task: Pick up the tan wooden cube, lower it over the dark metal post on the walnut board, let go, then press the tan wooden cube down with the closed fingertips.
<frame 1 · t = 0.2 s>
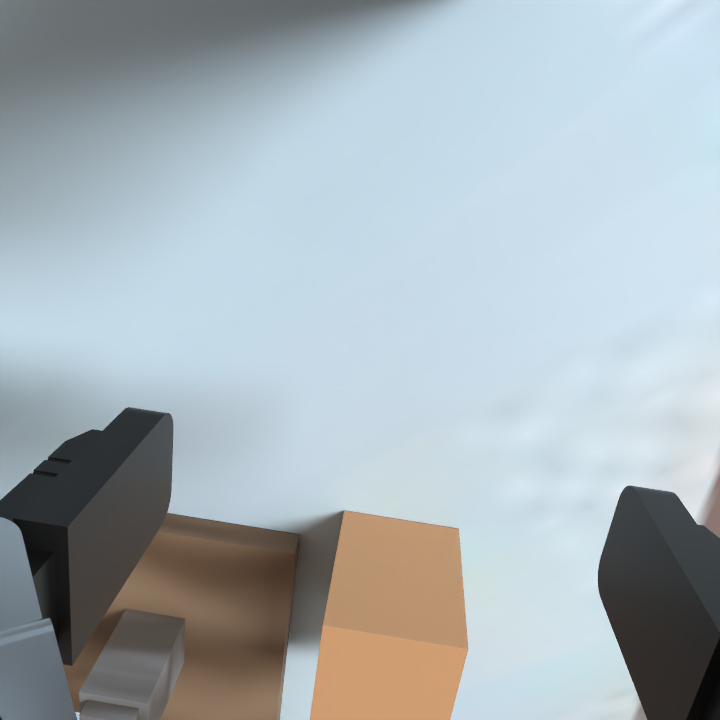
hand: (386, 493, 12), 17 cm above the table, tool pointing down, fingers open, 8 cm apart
tan wooden cube: (392, 565, 34), on the table
post board: (165, 615, 37), on the table
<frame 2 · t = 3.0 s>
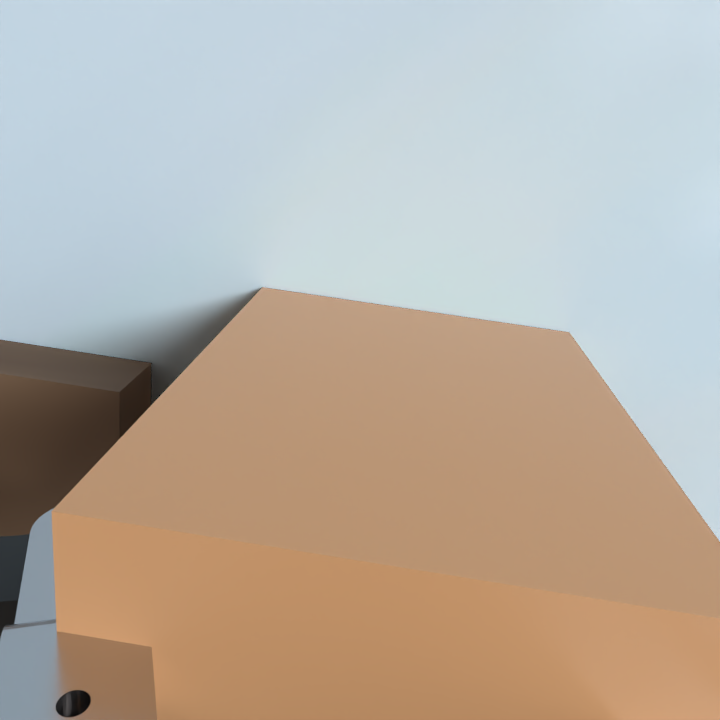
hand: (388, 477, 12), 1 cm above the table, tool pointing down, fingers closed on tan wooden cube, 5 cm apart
tan wooden cube: (392, 446, 13), on the table, touching gripper
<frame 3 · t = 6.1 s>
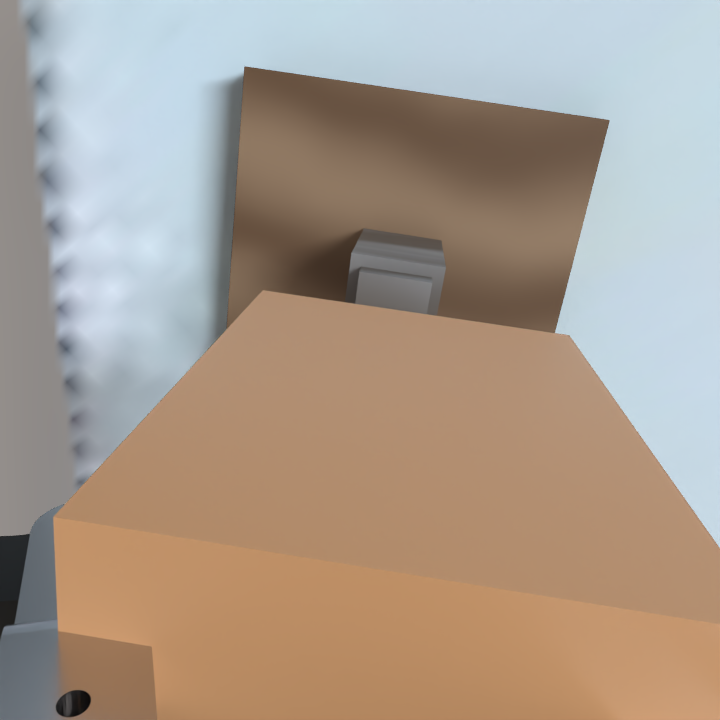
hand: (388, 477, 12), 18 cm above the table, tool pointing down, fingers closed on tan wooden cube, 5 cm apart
tan wooden cube: (392, 448, 13), point 17 cm above the table, touching gripper
post board: (397, 264, 29), on the table
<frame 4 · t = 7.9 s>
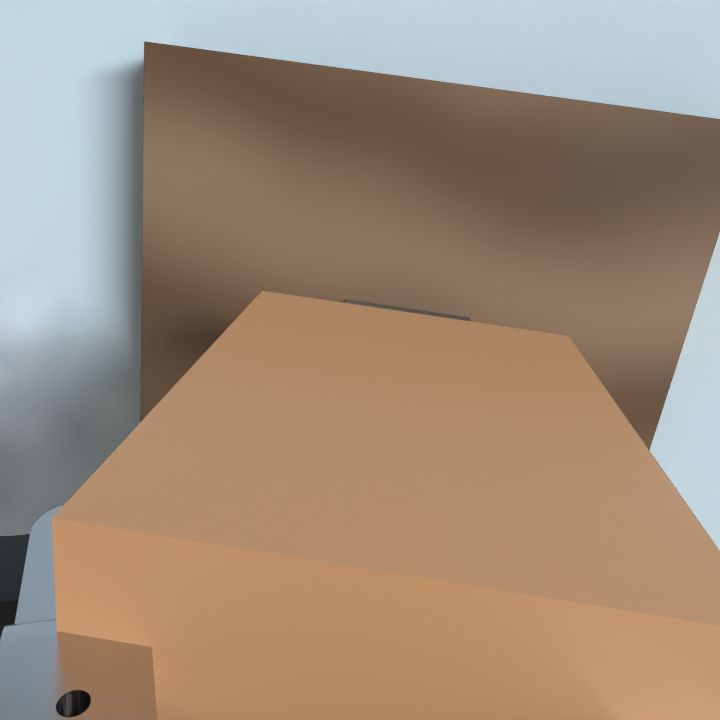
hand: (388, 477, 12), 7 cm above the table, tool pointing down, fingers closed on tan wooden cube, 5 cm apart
tan wooden cube: (391, 449, 13), point 6 cm above the table, touching gripper
post board: (400, 347, 19), on the table
when the fingers open (4 cm above the table, at t = 9.1 s): tan wooden cube drops 1 cm, resting on post board.
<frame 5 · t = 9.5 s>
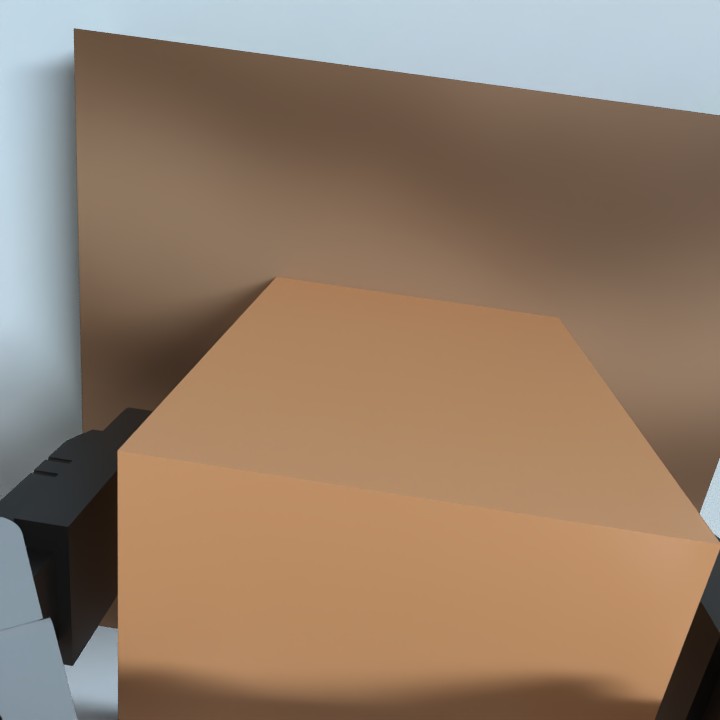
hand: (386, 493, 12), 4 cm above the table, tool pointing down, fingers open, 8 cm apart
tan wooden cube: (395, 424, 14), point 1 cm above the table, touching post board
post board: (394, 396, 16), on the table
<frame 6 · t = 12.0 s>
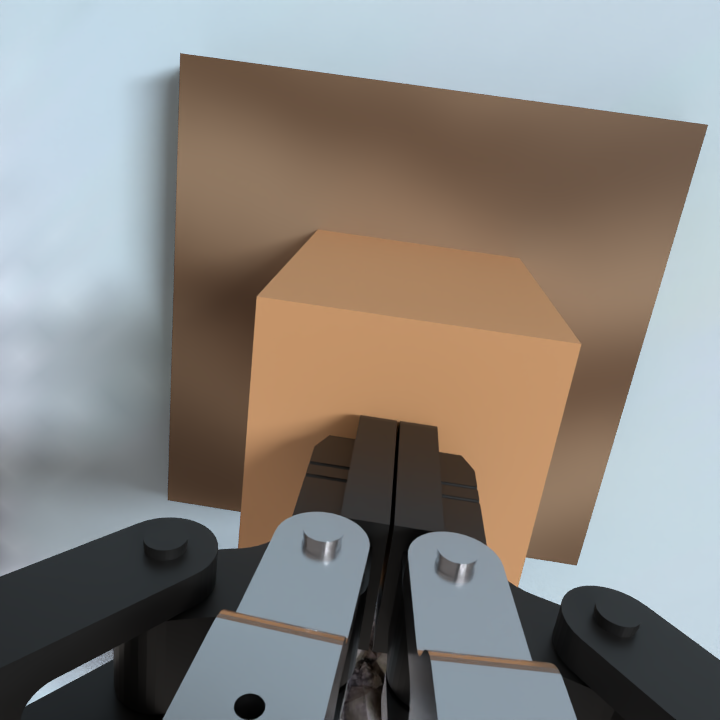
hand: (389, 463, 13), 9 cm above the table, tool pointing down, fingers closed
tan wooden cube: (403, 339, 20), point 1 cm above the table, touching gripper, post board
post board: (402, 323, 21), on the table
mineral specimen: (307, 618, 26), on the table
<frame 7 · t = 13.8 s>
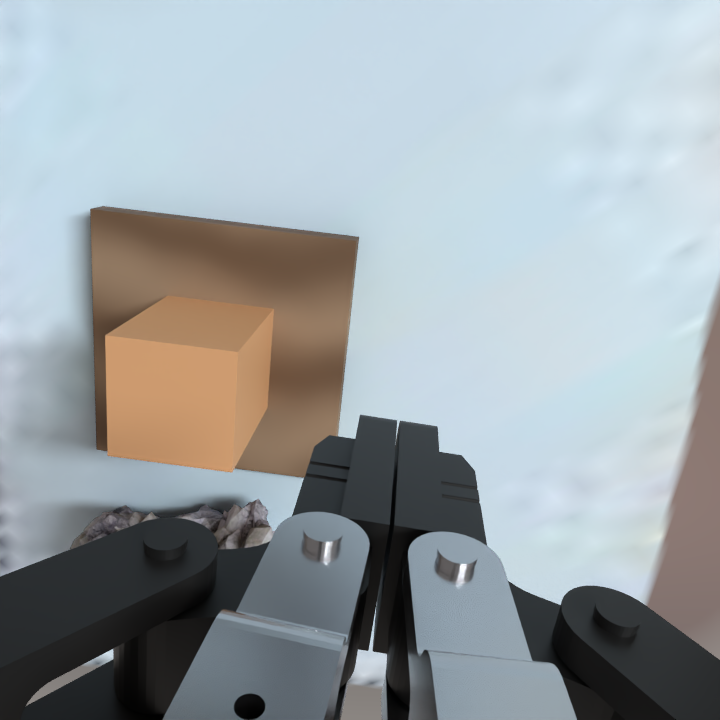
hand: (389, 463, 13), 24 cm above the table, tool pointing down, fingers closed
tan wooden cube: (218, 353, 36), point 1 cm above the table, touching post board
post board: (224, 344, 38), on the table
mineral specimen: (189, 527, 42), on the table
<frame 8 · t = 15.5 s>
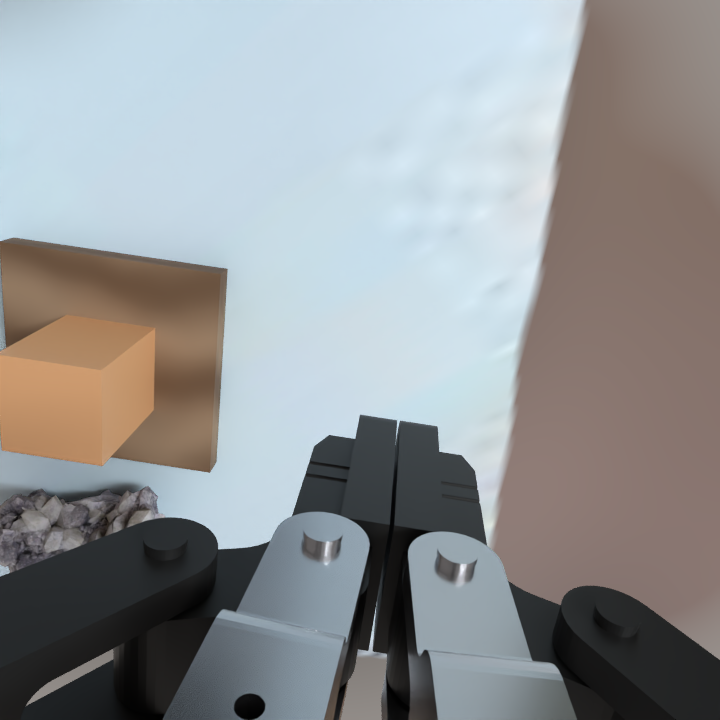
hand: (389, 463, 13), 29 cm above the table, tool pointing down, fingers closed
tan wooden cube: (111, 363, 43), point 1 cm above the table, touching post board
post board: (119, 355, 44), on the table
mineral specimen: (97, 508, 49), on the table
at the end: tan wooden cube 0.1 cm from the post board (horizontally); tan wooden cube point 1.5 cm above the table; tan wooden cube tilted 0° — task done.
